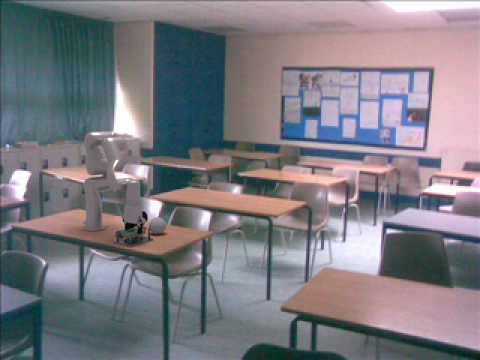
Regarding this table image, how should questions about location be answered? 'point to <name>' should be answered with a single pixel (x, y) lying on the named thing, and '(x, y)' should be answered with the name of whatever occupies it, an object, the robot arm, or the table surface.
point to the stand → (120, 234)
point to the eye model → (157, 225)
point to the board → (133, 231)
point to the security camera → (139, 223)
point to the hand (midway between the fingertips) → (133, 232)
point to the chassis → (133, 239)
